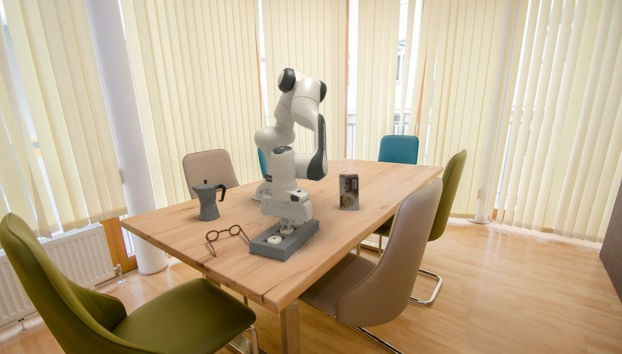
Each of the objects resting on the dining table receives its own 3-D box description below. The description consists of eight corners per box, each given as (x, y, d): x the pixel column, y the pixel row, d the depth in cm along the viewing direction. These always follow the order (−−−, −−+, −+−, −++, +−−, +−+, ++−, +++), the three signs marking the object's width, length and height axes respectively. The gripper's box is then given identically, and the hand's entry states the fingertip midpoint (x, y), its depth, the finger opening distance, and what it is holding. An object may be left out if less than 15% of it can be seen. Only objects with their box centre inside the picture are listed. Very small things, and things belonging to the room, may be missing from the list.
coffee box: (357, 205, 133) (358, 173, 129) (358, 210, 127) (359, 176, 123) (339, 205, 134) (339, 173, 130) (339, 210, 128) (339, 177, 124)
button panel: (249, 252, 91) (248, 241, 90) (289, 223, 114) (288, 215, 113) (284, 261, 85) (284, 249, 84) (319, 229, 108) (319, 219, 107)
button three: (278, 239, 98) (277, 230, 97) (285, 234, 102) (284, 225, 102) (289, 242, 96) (289, 232, 95) (296, 236, 100) (295, 227, 99)
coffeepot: (191, 222, 119) (185, 183, 115) (199, 214, 128) (194, 177, 124) (226, 220, 120) (222, 181, 115) (231, 213, 129) (227, 176, 124)
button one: (265, 249, 91) (264, 240, 90) (273, 243, 95) (272, 234, 95) (277, 252, 89) (276, 242, 88) (284, 246, 93) (284, 236, 92)
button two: (289, 231, 105) (289, 222, 104) (295, 226, 109) (295, 218, 108) (300, 233, 103) (299, 224, 102) (306, 228, 107) (305, 219, 106)
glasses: (240, 234, 106) (239, 222, 105) (252, 247, 96) (251, 234, 94) (206, 243, 100) (204, 231, 98) (214, 258, 89) (213, 244, 88)
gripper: (255, 192, 97) (258, 227, 100) (305, 198, 88) (307, 237, 91) (265, 187, 102) (268, 221, 106) (314, 193, 93) (315, 229, 97)
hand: (286, 228), depth 98 cm, fingers closed
